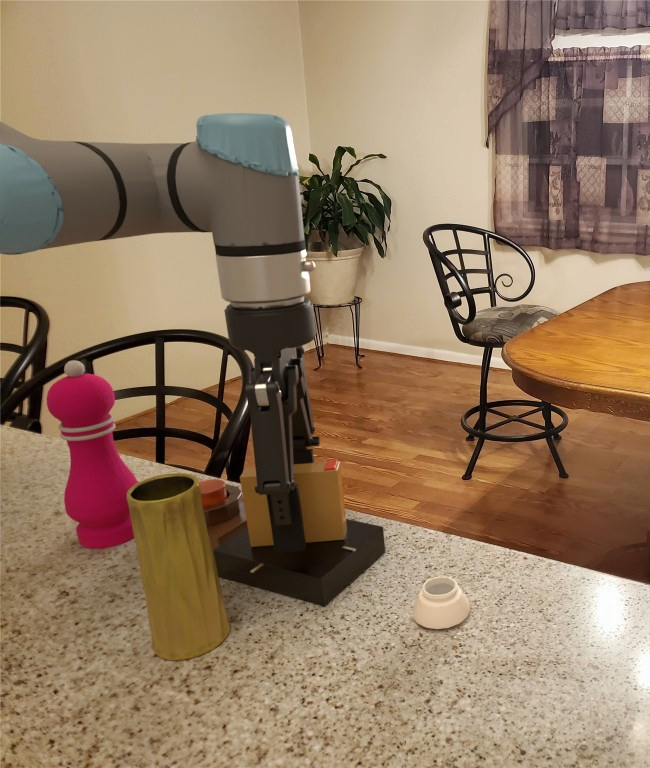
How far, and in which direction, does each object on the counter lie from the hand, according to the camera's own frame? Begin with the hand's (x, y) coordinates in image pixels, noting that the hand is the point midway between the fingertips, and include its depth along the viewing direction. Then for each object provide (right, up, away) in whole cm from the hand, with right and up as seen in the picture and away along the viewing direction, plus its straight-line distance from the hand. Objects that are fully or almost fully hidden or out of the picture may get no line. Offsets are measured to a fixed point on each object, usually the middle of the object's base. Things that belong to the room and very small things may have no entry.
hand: (298, 527), depth 68 cm
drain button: (-12, +1, +7) cm, 14 cm away
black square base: (0, -4, +1) cm, 4 cm away
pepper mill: (-23, -3, +8) cm, 25 cm away
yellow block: (0, -1, 0) cm, 1 cm away
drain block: (-12, -2, +8) cm, 15 cm away
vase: (-6, -8, -9) cm, 13 cm away
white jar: (+15, -6, -7) cm, 18 cm away
